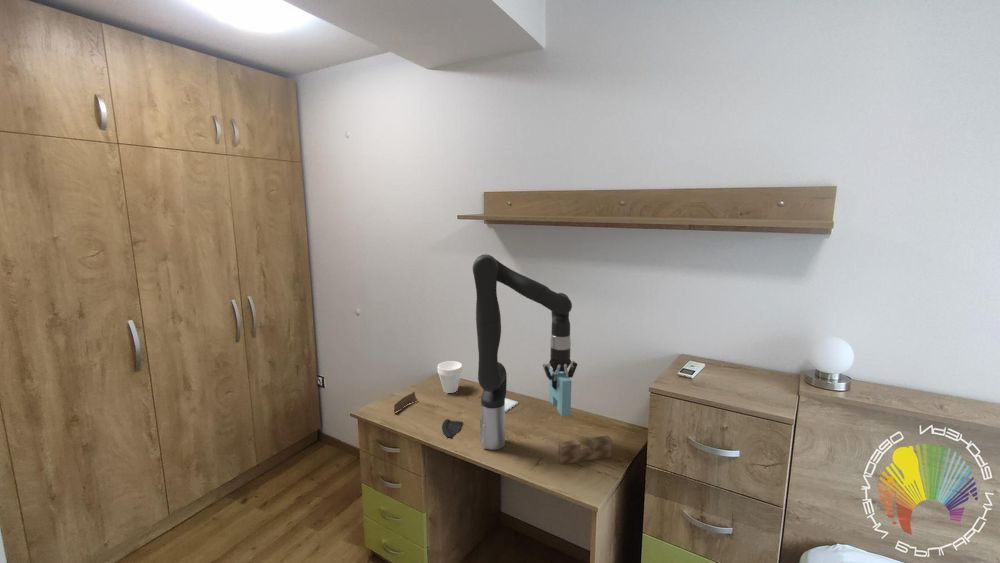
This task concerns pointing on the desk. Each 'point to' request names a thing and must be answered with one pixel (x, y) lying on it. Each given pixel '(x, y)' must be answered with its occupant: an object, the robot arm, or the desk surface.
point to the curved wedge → (451, 427)
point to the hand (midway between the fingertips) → (559, 388)
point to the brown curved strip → (405, 401)
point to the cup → (450, 375)
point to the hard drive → (509, 404)
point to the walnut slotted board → (584, 450)
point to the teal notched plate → (561, 394)
